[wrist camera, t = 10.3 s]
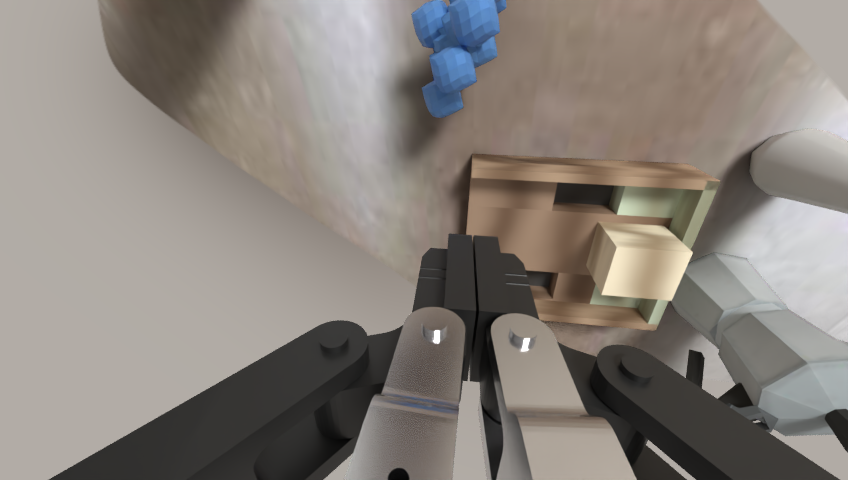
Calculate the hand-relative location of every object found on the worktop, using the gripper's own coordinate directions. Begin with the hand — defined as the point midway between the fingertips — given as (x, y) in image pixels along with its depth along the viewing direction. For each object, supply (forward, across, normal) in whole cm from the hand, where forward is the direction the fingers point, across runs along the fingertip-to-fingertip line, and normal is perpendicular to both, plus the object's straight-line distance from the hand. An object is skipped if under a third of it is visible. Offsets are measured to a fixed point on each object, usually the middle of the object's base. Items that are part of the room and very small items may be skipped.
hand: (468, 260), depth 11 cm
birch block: (+22, -17, +11) cm, 30 cm away
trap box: (+25, -11, +12) cm, 30 cm away
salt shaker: (+25, -28, +2) cm, 38 cm away
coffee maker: (+25, -27, +17) cm, 41 cm away
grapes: (+26, +1, -6) cm, 27 cm away
